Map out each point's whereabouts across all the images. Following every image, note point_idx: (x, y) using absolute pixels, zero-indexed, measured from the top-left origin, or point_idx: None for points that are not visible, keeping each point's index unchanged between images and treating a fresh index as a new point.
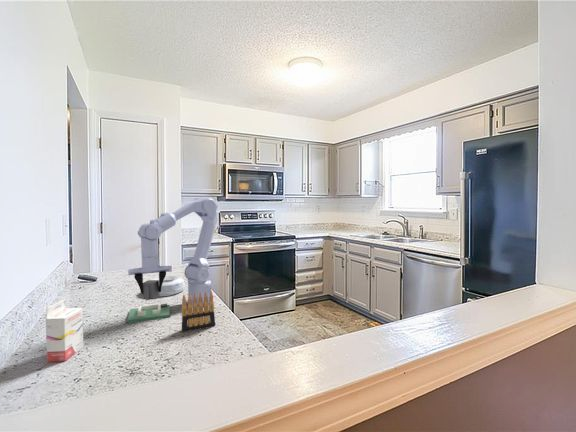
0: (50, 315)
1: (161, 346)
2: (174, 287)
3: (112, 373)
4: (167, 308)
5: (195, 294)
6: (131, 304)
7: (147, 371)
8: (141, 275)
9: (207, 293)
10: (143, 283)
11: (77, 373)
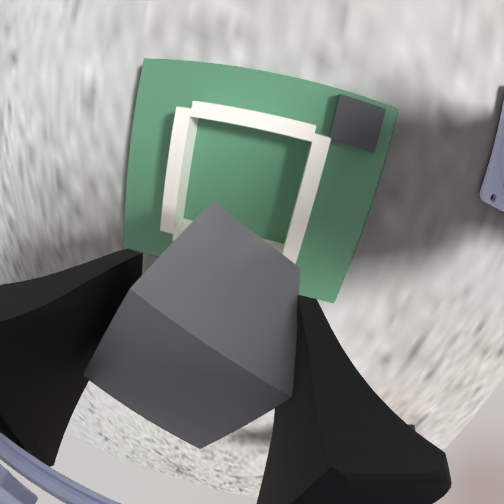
0: None
1: (236, 450)
2: None
3: (149, 456)
4: (362, 189)
5: None
6: None
7: (201, 478)
8: (24, 444)
9: None
10: (93, 376)
11: (95, 425)
